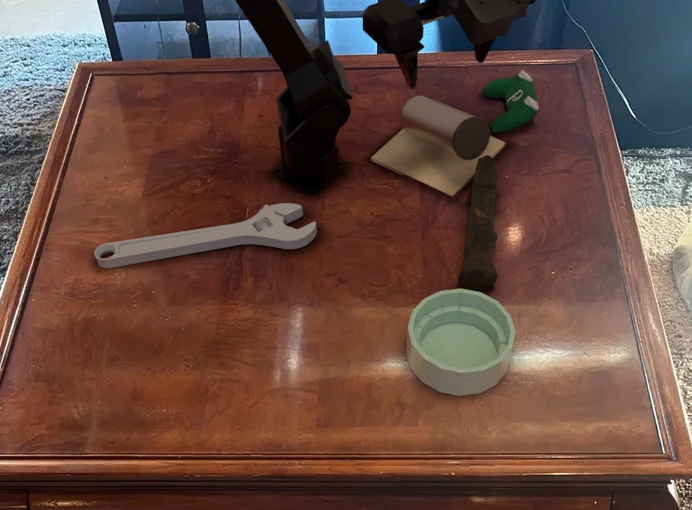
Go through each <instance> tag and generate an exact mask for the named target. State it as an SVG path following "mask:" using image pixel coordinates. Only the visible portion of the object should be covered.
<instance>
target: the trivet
mask: <svg viewBox="0 0 692 510" xmlns="http://www.w3.org/2000/svg"><path fill="white" fill-rule="evenodd" d="M505 146H506V141H503V140H500V139H499V138H496V137H495V136H492V135H490V140H489V143H488V146H487V148H486V149H485V151H484V152H483V153H482V154H481V155H480V156H479V157H477V158H475V159H473V160H464V159H461V158H460V157H458V156H456V155H454V154H452V153H450V152H448V151H446V150H443V149H441V148H439V147H437V146H435V145H433V144H431V143H429V142H427V141H424V140H422V139H420V138H418V137H416V136H414V135H412V134H410V133H408V132H407V131H405V129H404V128H403V127H402V129H401V130H400V131H399V132H397V133H396V134H395V135H394V136H393V137H392V138H391V139H390V140H388V141H387V142H386V143H385V144H384V145H383V146H382V147H381V148H380V149H378V151H376V152H375V154H373V155H372V156H371V158H370V161H371V162H373V163H375V164H377V165H379V166H382V167H384V168H385V169H388V170H389V171H391V172H394V173H396V174H397V175H400V176H404V175H406V176H407V177H410V178H411V179H414V180H416V181H418V182H420V183H422V184H424V185H427V186H429V187H430V188H433V189H435V190H438V191H440V192H441V193H444V194H446V195H448V196H450V197H452V198H453V197H454V196H455V195H456V194H457V193H459V194H460V192H462V190H463V189H464V188H465V187H466V186H467V185H468V184H469V183H470V182H472V181H473V179H474V177H475V172H476V170H475V169H476V166H477V162H478V159H479V158H482V157H484V156H486V155H489V156H491V157H492V158H493V159H494V158H495V157H496V155H498V154H499V153H500V152H501V151H502V150H503V149H504V147H505Z"/></svg>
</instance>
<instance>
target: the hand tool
mask: <svg viewBox="0 0 692 510" xmlns="http://www.w3.org/2000/svg"><path fill="white" fill-rule="evenodd" d="M496 166H497V165H496V161H495V160H494V158H492V157H491V156H489V155H486V156H484V157H482V158H479V159H478V162H477V166H476V169H475V170H476V172H475V177H474V178H473V179H472V189H471V200H470V208H469V214H468V224H467V232H466V241H465V247H464V257H463V267H462V268H461V269H460V271H459V273H458V275H457V282H456V284H457V285H458V286H459V287H460V289H466V290H471V291H477V292H484V291H485V292H487V291H491V290H493V288H495V287H494V286H495V283H496V282H497V281H498V277H499V276H498V275H499V274H498V271H497V269H496V267H495V265H494V258H495V252H496V243H497V241H498V234H497V233H496V231H495V217H496V215H495V213H496V212H495V210H496V209H495V207H496V204H495V203H496V188H497V167H496Z"/></svg>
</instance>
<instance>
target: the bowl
mask: <svg viewBox="0 0 692 510" xmlns="http://www.w3.org/2000/svg"><path fill="white" fill-rule="evenodd" d="M407 324H408V325H407V331H406V332H407V333H406V350H405V353H406V356H407V361H408V365H409V368H410V369H411V371H412V372H413V374H414V375H415V376H416V377H417V378H418V379H419V381H420V382H421V383H422V384H425V385H426V386H428V387H430V388H431V389H433V390H435V391H436V392H438V393H441V394H445V395H446V394H447V395H452V396H456V397H462V396H463V397H464V396H470V395H471V396H472V395H478V394H482V393H484V392H485V391H487V390H490V389H491V388H493V387H496V386H497V385H498V384H499V382H500V381H501V380H502V378H503V377H504V376H505V375H506V373H507V372H508V370H509V366H510V360H511V358H512V353H513V349H514V343H515V337H516V332H517V331H516V327H515V324H514V321H513V318H512V315H511V314H510V313H509V311H507V309H506V308H505V307H504V306H503V305H502V304H501V302H499V301H498V300H497V299H495V298H493V297H491V296H488V295H487V294H485V293H483V292H482V291H477V290H470V289H463V288H454V289H453V288H452V289H445V290H439V291H437V292H435V293H432V294H431V295H429V296H427V297H425V298H423V299H422V300H421V301H420V302H419V303H418V304H417V306H416V307H415V308H414V309H413V310H412V311H411V313H410V317H409V321H408V323H407Z"/></svg>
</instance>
